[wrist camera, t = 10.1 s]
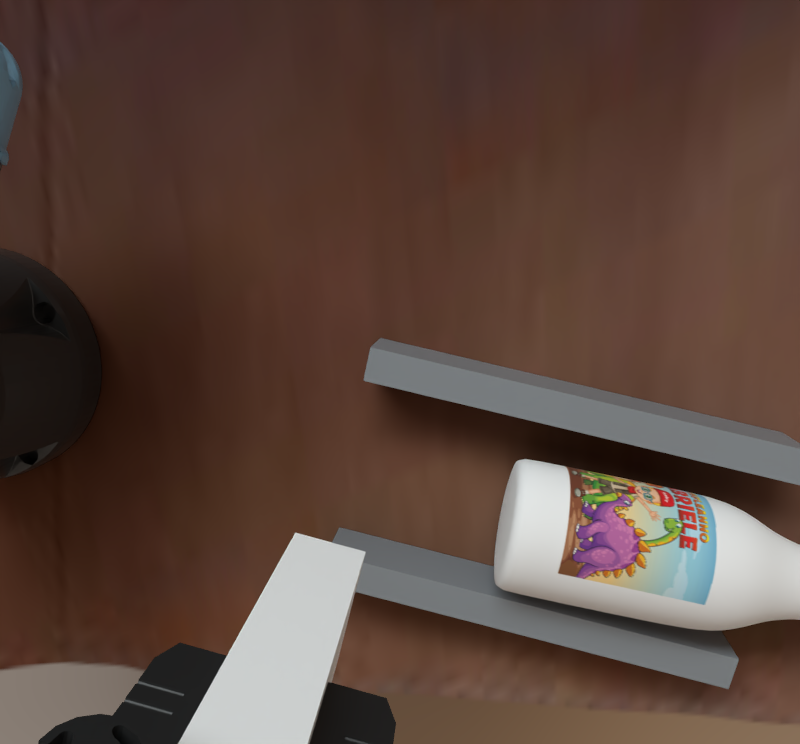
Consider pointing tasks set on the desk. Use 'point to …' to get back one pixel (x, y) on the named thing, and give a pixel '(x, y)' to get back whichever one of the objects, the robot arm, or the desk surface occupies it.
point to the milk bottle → (641, 551)
